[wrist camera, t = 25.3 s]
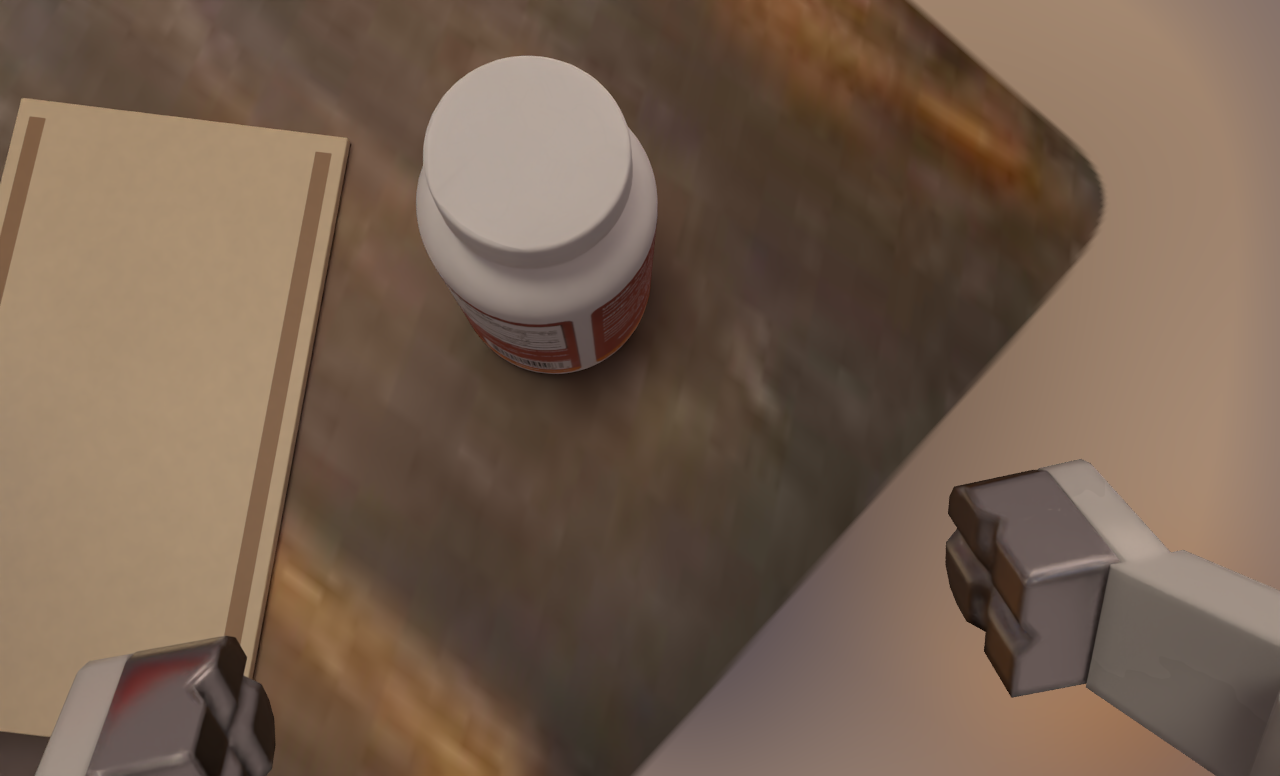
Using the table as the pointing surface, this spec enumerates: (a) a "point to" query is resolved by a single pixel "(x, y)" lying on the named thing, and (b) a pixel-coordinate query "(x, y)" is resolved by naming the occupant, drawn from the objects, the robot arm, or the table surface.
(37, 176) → the cutting board
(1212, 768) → the robot arm
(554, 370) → the pill bottle
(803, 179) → the table surface
